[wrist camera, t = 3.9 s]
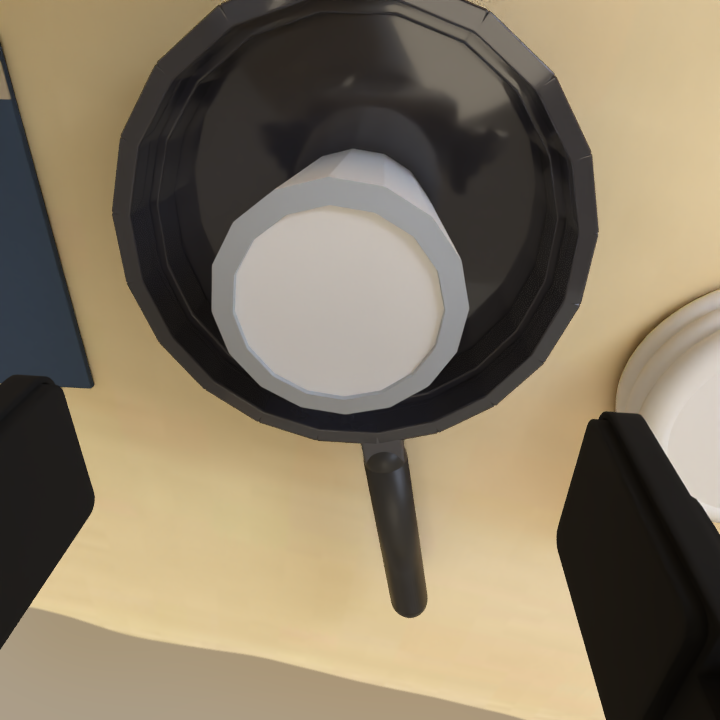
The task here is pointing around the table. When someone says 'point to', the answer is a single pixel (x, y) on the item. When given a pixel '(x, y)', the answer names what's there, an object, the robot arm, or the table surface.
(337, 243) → the white cup
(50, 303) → the cloth
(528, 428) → the table surface
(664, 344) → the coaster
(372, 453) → the pan handle
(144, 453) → the table surface
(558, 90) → the pan
